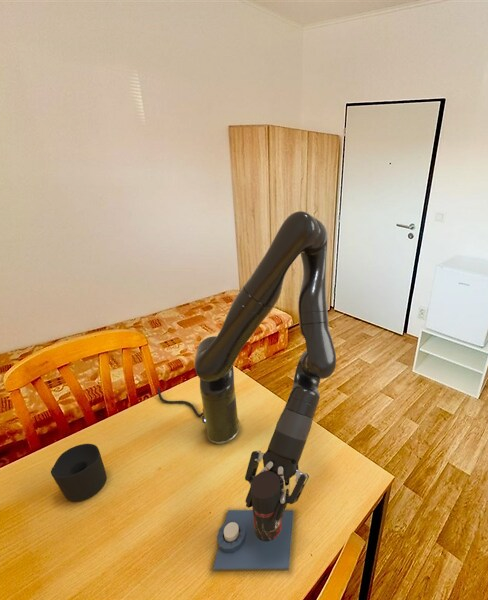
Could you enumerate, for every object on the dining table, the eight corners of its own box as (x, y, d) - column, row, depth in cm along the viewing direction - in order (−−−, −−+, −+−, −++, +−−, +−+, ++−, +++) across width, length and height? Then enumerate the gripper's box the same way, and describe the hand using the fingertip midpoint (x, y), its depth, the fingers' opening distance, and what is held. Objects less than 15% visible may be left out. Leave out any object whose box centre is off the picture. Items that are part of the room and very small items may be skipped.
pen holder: (117, 478, 84) (107, 453, 79) (77, 511, 76) (65, 484, 72) (94, 463, 87) (84, 438, 83) (55, 493, 79) (41, 467, 75)
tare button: (222, 542, 70) (221, 537, 69) (226, 526, 73) (225, 522, 72) (237, 542, 70) (236, 537, 70) (240, 526, 73) (240, 522, 73)
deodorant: (275, 544, 68) (273, 502, 62) (250, 537, 69) (245, 494, 62) (285, 516, 73) (284, 474, 67) (261, 510, 74) (257, 468, 68)
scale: (210, 571, 67) (209, 564, 66) (226, 512, 78) (225, 506, 77) (288, 570, 68) (288, 564, 67) (293, 512, 79) (293, 506, 78)
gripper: (325, 444, 72) (297, 525, 67) (272, 421, 77) (243, 494, 72) (314, 445, 65) (283, 535, 60) (257, 420, 70) (224, 501, 66)
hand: (261, 513), depth 66 cm, fingers closed on deodorant, 6 cm apart
